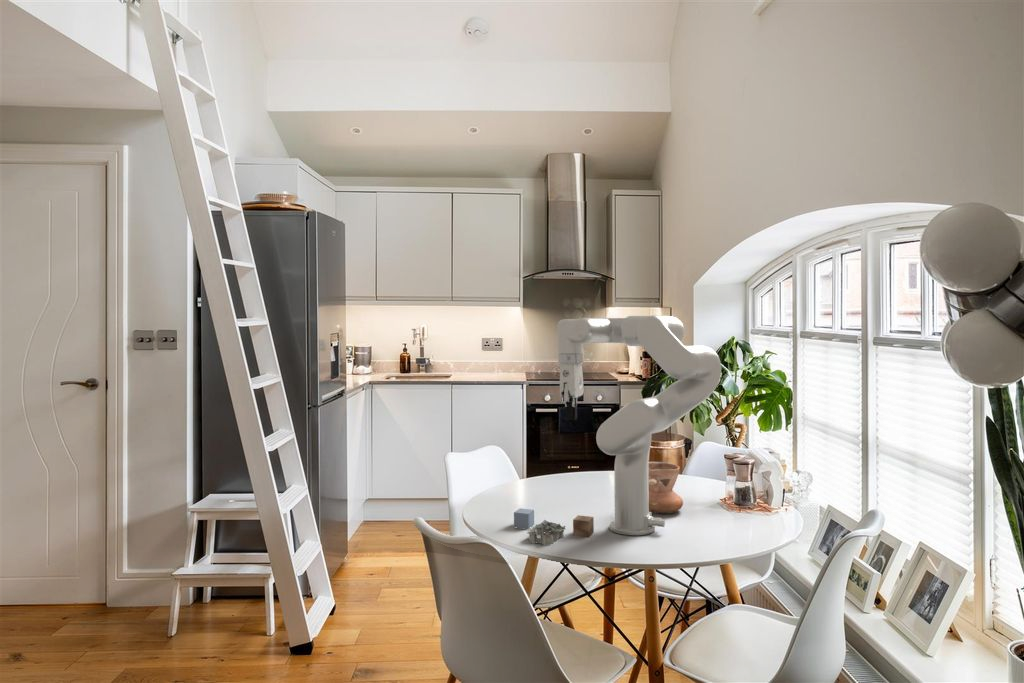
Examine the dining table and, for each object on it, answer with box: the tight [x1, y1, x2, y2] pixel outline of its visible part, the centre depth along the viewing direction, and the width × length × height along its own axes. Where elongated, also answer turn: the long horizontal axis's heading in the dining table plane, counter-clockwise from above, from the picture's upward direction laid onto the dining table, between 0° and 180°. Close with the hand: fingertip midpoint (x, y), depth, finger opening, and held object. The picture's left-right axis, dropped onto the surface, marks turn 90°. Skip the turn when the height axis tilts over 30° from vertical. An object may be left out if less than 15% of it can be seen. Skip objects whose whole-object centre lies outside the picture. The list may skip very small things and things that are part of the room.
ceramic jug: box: [649, 461, 684, 515], centre depth 199 cm, size 18×14×14 cm
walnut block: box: [572, 514, 595, 538], centre depth 176 cm, size 4×4×4 cm
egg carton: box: [527, 519, 567, 546], centre depth 173 cm, size 11×8×4 cm
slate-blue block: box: [513, 507, 535, 530], centre depth 184 cm, size 4×4×4 cm
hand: (571, 419), depth 195 cm, fingers closed
